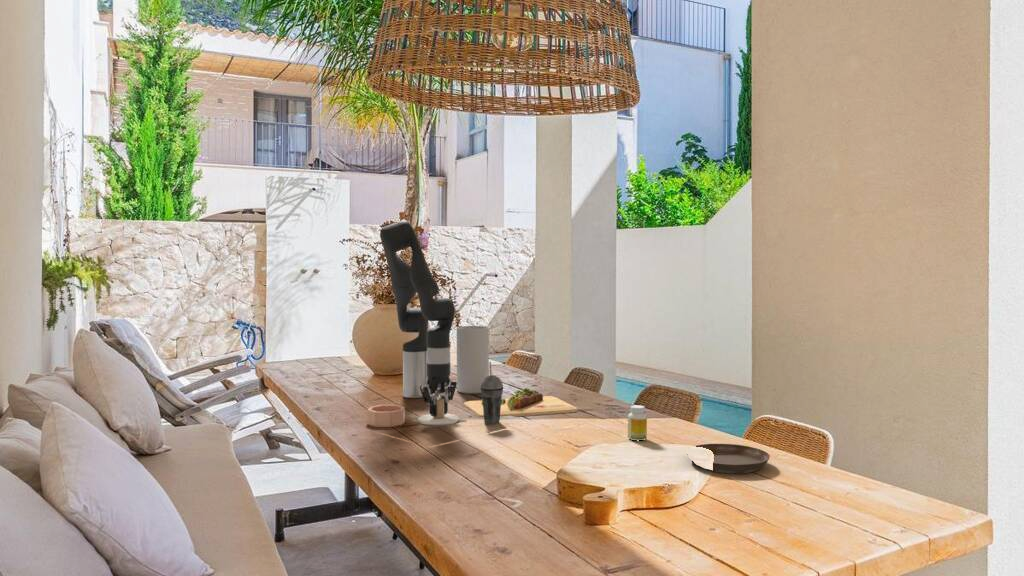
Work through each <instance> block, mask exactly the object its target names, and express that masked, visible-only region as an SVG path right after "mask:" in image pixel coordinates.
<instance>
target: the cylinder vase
mask: <svg viewBox="0 0 1024 576" xmlns="http://www.w3.org/2000/svg"><path fill="white" fill-rule="evenodd" d="M489 329H490V327H489V326H483V325H464V326H457V327H456V382H457V385H456V391H457V392H459V393H460V394H468V395H476V394H479V395H480V394H481V389H480V388H481V383H482V381H483V380H484V378H485V377H487V376H490V363H489V362H490V360H489V359H490V348H489V347H490V340H489V339H490V336H489V335H490V330H489Z"/></svg>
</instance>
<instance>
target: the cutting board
mask: <svg viewBox="0 0 1024 576" xmlns="http://www.w3.org/2000/svg"><path fill="white" fill-rule="evenodd" d="M514 394H515V395H511V396H510V398H501V410H500V417H505V416H506V417H507V416H508V417H509V416H510V417H514V418H515V417H527V416H528V417H529V416H530V417H531V416H542V415H555V414H569V413H570V414H571V413H576V412H578V410H579V408H578V407H577V406H574V405H572V404H570V403H568V402H566V401H564V400H562V399H560V398H558V397H556V396H552V395H543V393H540V392H539V391H537V390H535V389H533V390H530V388H529V387H524V389H523V390H522V391H521V390H515V391H514ZM462 406H464V407H466V408H467V409H469V410H470V411H471V412H473V413H474V414H475V415H477V416H478V417H483V418H484V412H483V400H482V399H480V400H469V401H465V402H463V403H462Z"/></svg>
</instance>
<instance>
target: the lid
mask: <svg viewBox="0 0 1024 576" xmlns="http://www.w3.org/2000/svg"><path fill="white" fill-rule="evenodd" d="M436 405H437V416H435V417H433V416H431V414H430V413H427V414H422V415H420V416H418V417H417V419H418V422H419V423H421V425H423V424H424V426H427V425H434V426H440V425H447V426H451V425H455V423H456V424H458V423H457V422H459V419H460V416H459V415H457V414H453V413H447V414H445V415H444V398H440V397H438V398H437V402H436ZM419 423H418V424H419ZM450 424H451V425H450Z"/></svg>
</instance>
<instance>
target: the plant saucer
mask: <svg viewBox="0 0 1024 576" xmlns="http://www.w3.org/2000/svg"><path fill="white" fill-rule="evenodd" d="M695 446H696V447H703V448H706V449H709V450H711V451H712V452H713V454H714V462H713V471H712V472H714V473H720V474H721V473H722V474H736V475H737V474H739V473H740V474H749V472H750V473H754V472H756V471H759V470H760V469H761V468H762V469H763V467H764V466H765V465H767V463H768V462H769V460H770V458H771V456H770V453H768V452H767V451H764V450H763V449H760V448H756V447H753V446H747V445H741V444H735V443H734V444H733V443H731V444H730V443H706V444H705V443H703V444H698V445H695ZM740 474H739V475H740Z"/></svg>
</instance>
